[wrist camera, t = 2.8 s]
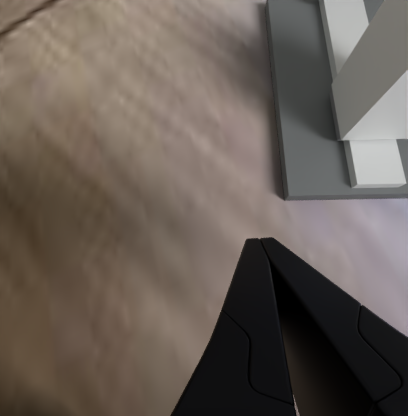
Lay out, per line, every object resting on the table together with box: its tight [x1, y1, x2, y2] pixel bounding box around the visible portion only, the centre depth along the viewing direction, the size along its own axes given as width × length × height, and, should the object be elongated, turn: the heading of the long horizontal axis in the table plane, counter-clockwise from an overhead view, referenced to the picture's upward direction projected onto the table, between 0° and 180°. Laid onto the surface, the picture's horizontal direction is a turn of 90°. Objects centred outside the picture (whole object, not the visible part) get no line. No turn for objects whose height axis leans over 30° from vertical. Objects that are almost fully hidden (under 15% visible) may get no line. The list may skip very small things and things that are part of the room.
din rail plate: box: [265, 0, 408, 200], centre depth 21 cm, size 20×13×4 cm, turn 1°
